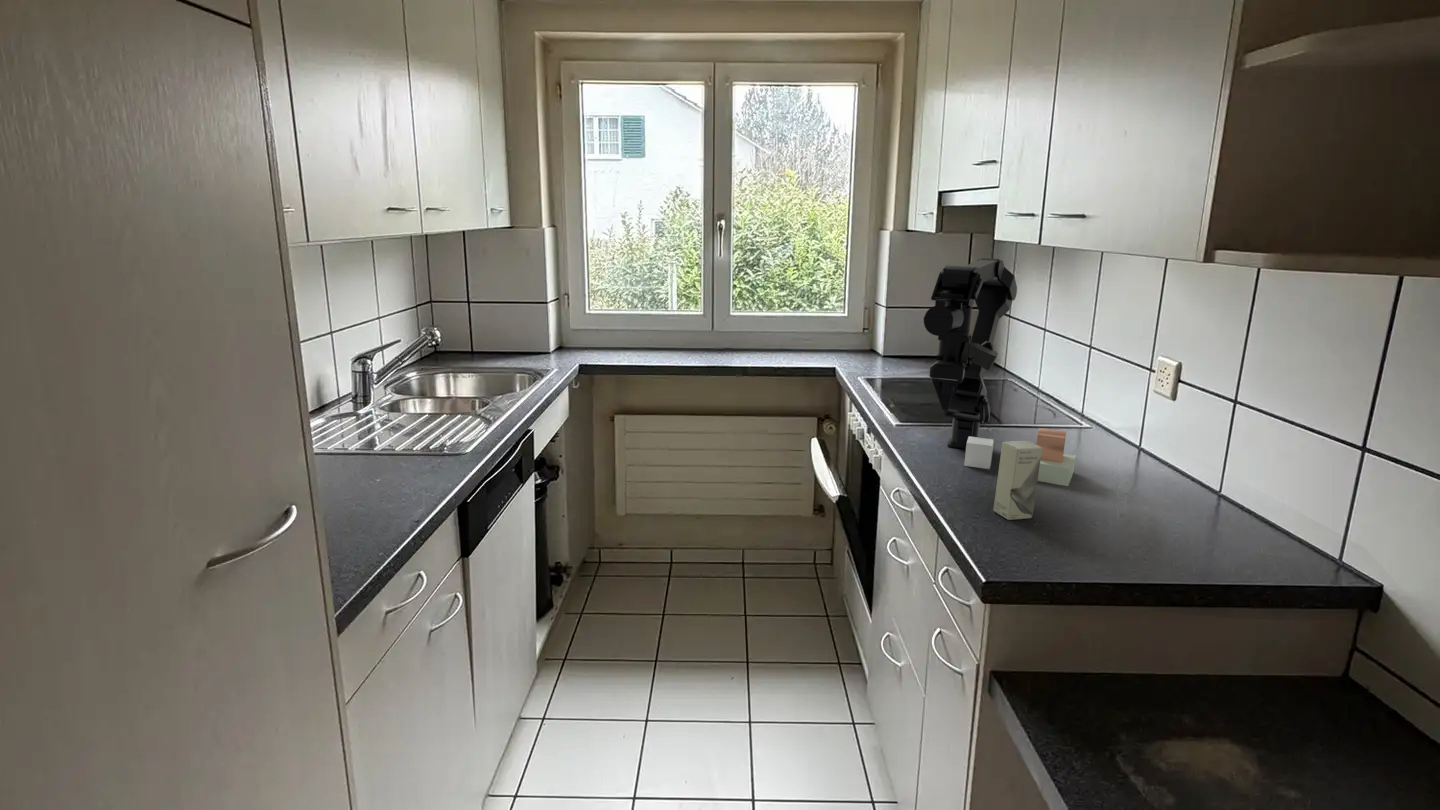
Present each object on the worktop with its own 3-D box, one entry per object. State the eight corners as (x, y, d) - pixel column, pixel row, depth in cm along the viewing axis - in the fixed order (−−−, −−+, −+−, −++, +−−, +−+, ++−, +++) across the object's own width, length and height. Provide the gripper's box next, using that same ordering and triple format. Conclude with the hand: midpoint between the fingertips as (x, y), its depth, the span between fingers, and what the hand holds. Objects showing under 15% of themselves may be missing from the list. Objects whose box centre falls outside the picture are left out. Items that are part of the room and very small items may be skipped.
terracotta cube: (1036, 451, 157) (1039, 428, 155) (1062, 455, 155) (1066, 431, 153) (1034, 458, 152) (1037, 434, 151) (1062, 462, 150) (1065, 438, 149)
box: (1007, 521, 131) (1016, 449, 128) (992, 511, 135) (1000, 441, 132) (1034, 518, 133) (1043, 446, 129) (1018, 508, 137) (1027, 439, 133)
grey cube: (966, 458, 163) (968, 436, 162) (991, 462, 161) (993, 439, 160) (964, 466, 159) (966, 442, 157) (989, 469, 157) (992, 446, 156)
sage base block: (1026, 466, 160) (1028, 448, 159) (1073, 474, 156) (1075, 455, 155) (1018, 479, 153) (1020, 460, 152) (1067, 488, 148) (1070, 468, 147)
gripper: (994, 339, 143) (985, 420, 147) (1000, 325, 160) (992, 398, 164) (932, 335, 147) (925, 413, 152) (945, 321, 164) (938, 393, 168)
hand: (947, 404), depth 159 cm, fingers open, 9 cm apart
